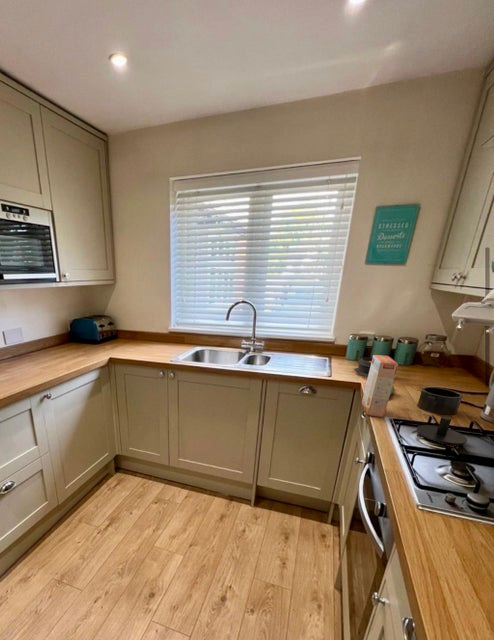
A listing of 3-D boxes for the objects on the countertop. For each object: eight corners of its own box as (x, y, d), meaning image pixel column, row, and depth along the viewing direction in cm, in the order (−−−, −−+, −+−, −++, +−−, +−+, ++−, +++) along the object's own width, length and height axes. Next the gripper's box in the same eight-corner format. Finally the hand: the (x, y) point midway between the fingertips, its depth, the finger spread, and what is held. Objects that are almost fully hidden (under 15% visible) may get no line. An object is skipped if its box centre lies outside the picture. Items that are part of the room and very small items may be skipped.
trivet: (464, 441, 106) (465, 439, 106) (452, 448, 101) (452, 447, 101) (429, 429, 114) (430, 427, 114) (416, 436, 109) (416, 434, 109)
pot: (463, 413, 129) (470, 393, 126) (444, 423, 120) (451, 401, 117) (427, 403, 139) (433, 384, 136) (407, 411, 129) (413, 391, 126)
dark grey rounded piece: (394, 384, 164) (398, 367, 161) (353, 378, 172) (356, 363, 169) (390, 372, 185) (394, 358, 182) (353, 368, 193) (356, 354, 190)
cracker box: (384, 418, 123) (399, 363, 115) (366, 415, 124) (379, 361, 117) (377, 405, 135) (389, 355, 128) (361, 403, 137) (372, 353, 130)
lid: (472, 440, 106) (479, 421, 103) (456, 450, 99) (463, 430, 97) (426, 425, 116) (431, 407, 114) (408, 433, 109) (414, 415, 107)
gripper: (463, 295, 127) (440, 322, 127) (532, 299, 110) (505, 329, 109) (466, 307, 130) (443, 333, 130) (534, 312, 113) (508, 342, 113)
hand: (472, 331), depth 120 cm, fingers open, 8 cm apart
